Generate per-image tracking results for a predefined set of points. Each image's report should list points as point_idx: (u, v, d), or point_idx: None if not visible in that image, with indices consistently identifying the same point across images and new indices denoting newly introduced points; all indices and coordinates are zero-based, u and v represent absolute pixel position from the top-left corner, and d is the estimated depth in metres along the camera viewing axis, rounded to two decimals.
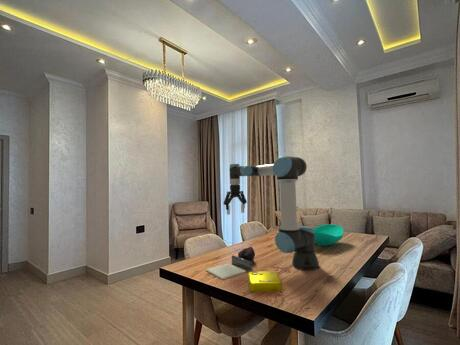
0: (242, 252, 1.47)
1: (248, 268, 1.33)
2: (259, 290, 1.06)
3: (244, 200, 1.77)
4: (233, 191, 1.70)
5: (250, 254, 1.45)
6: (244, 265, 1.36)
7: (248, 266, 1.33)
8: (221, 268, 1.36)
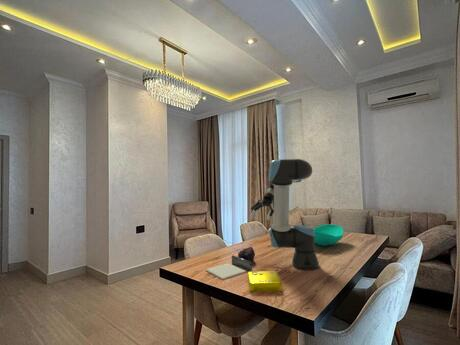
0: (242, 252, 1.47)
1: (248, 268, 1.33)
2: (259, 290, 1.06)
3: (273, 208, 1.58)
4: (264, 199, 1.69)
5: (250, 254, 1.45)
6: (244, 265, 1.36)
7: (248, 266, 1.33)
8: (221, 268, 1.36)
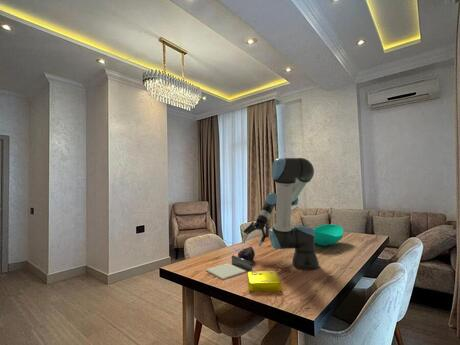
0: (242, 252, 1.47)
1: (248, 268, 1.33)
2: (258, 290, 1.07)
3: (266, 233, 1.53)
4: (257, 222, 1.64)
5: (250, 254, 1.45)
6: (244, 265, 1.36)
7: (248, 266, 1.33)
8: (221, 268, 1.36)
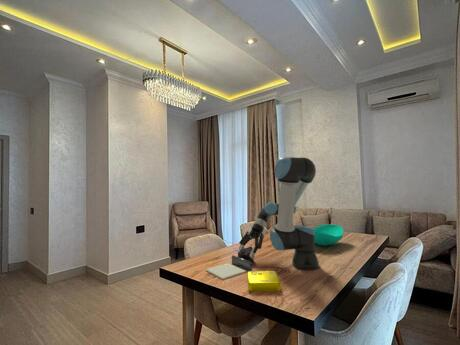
0: (242, 252, 1.47)
1: (248, 268, 1.33)
2: (257, 290, 1.07)
3: None
4: (252, 231, 1.57)
5: None
6: (244, 265, 1.36)
7: (248, 266, 1.33)
8: (221, 268, 1.36)
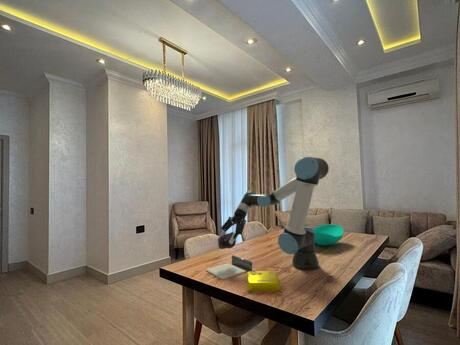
0: (222, 238, 1.39)
1: (248, 268, 1.33)
2: (257, 289, 1.07)
3: (239, 229, 1.38)
4: (234, 216, 1.49)
5: None
6: (244, 265, 1.36)
7: (248, 266, 1.33)
8: (221, 268, 1.36)
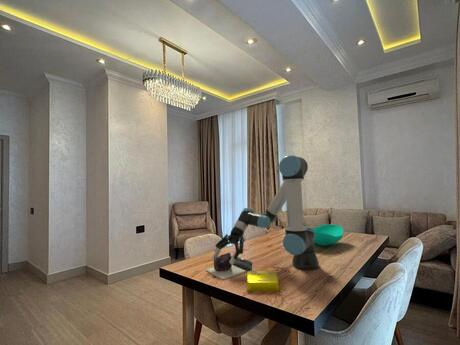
0: (218, 259, 1.31)
1: (248, 268, 1.33)
2: (256, 289, 1.07)
3: None
4: (231, 235, 1.42)
5: (226, 261, 1.29)
6: (244, 265, 1.36)
7: (248, 266, 1.33)
8: None
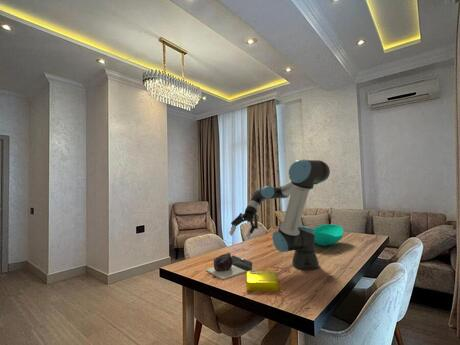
0: (218, 259, 1.31)
1: (248, 268, 1.33)
2: (255, 289, 1.07)
3: None
4: (245, 213, 1.55)
5: (226, 261, 1.29)
6: (244, 265, 1.36)
7: (248, 266, 1.33)
8: None
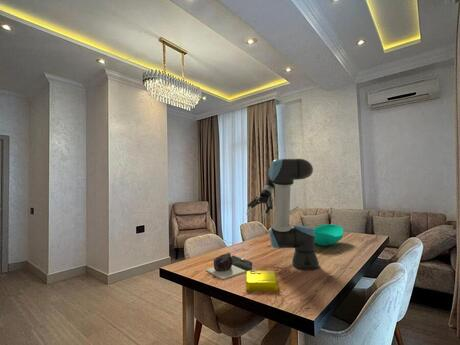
0: (218, 259, 1.31)
1: (248, 268, 1.33)
2: (255, 289, 1.07)
3: None
4: (260, 196, 1.70)
5: (226, 261, 1.29)
6: (244, 265, 1.36)
7: (248, 266, 1.33)
8: None
